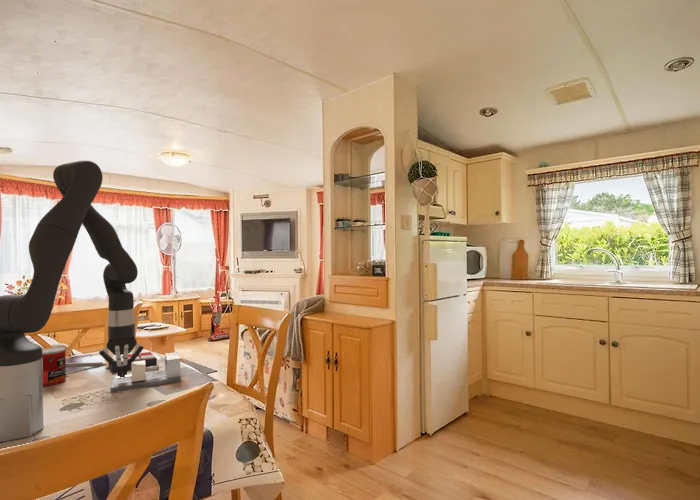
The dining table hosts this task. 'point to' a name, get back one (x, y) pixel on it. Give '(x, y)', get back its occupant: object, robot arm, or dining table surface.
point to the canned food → (54, 365)
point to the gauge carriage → (141, 370)
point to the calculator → (148, 357)
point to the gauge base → (151, 376)
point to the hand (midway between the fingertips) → (122, 376)
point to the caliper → (85, 364)
